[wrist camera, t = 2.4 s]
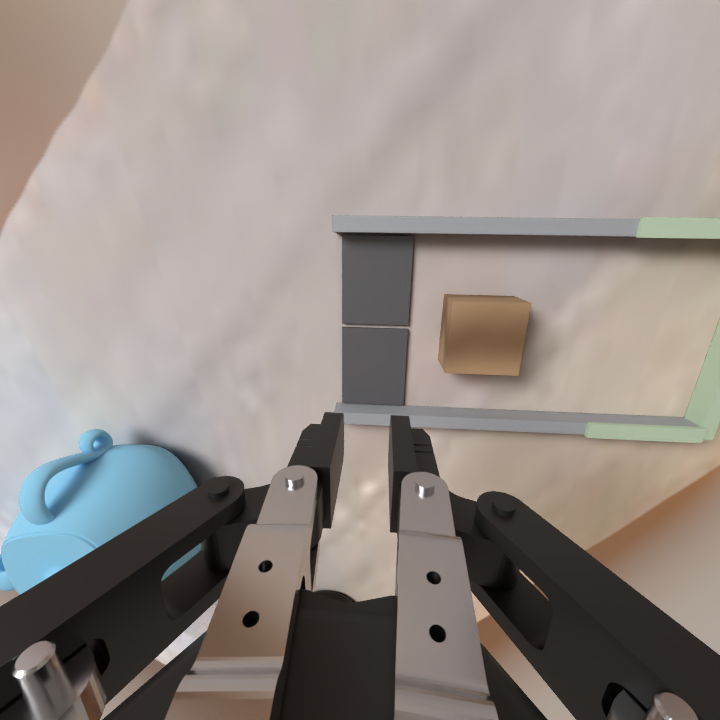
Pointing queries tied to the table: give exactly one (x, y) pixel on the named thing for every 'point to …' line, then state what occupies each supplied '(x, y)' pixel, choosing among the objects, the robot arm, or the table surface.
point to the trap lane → (391, 307)
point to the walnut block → (483, 334)
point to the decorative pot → (87, 506)
